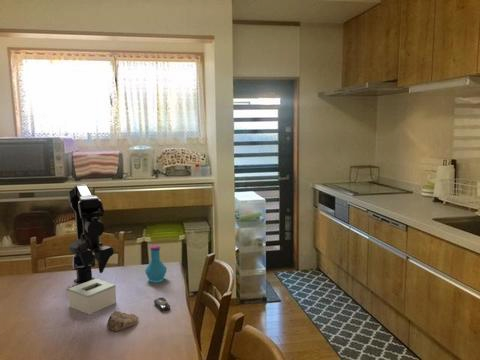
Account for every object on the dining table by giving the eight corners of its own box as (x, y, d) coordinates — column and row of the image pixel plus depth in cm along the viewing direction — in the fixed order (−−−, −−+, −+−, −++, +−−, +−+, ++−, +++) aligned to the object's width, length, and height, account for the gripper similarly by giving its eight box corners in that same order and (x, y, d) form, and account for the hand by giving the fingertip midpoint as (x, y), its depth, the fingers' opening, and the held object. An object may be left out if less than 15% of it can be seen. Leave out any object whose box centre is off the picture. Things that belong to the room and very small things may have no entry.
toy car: (161, 313, 144) (160, 292, 143) (149, 301, 153) (148, 282, 152) (171, 310, 146) (170, 289, 145) (158, 299, 156) (157, 279, 155)
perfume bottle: (169, 275, 179) (168, 243, 178) (163, 283, 170) (162, 249, 168) (149, 275, 180) (148, 243, 178) (142, 283, 171) (141, 249, 169)
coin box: (69, 306, 149) (68, 288, 148) (96, 295, 159) (95, 278, 158) (89, 314, 143) (87, 295, 142) (116, 302, 153) (115, 284, 152)
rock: (107, 335, 129) (138, 325, 131) (103, 317, 129) (134, 308, 131) (110, 329, 137) (139, 319, 139) (106, 312, 138) (135, 303, 140)
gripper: (57, 231, 148) (59, 271, 150) (87, 239, 137) (90, 282, 139) (83, 225, 157) (85, 263, 159) (114, 232, 146) (116, 272, 149)
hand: (93, 270), depth 151 cm, fingers open, 9 cm apart
